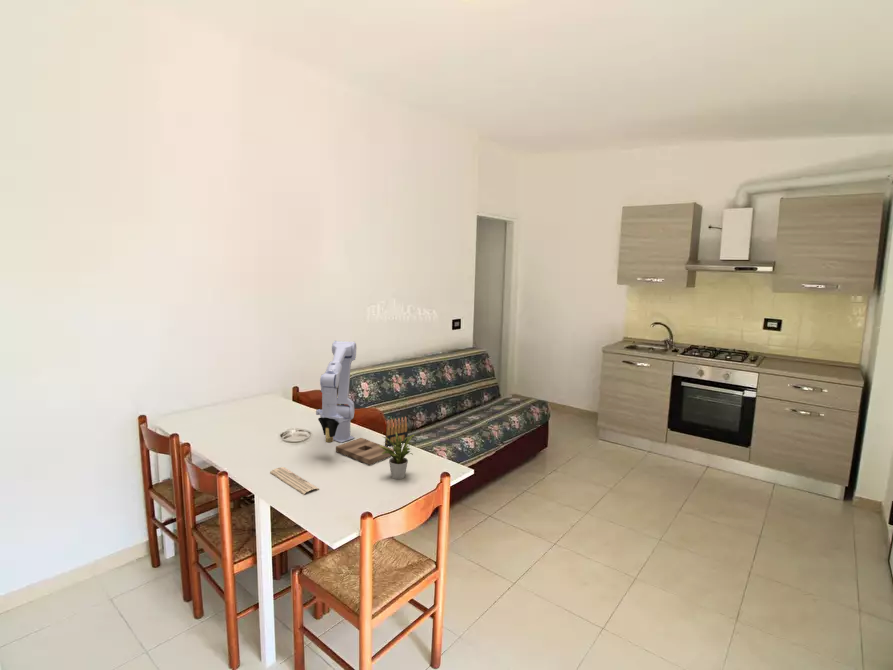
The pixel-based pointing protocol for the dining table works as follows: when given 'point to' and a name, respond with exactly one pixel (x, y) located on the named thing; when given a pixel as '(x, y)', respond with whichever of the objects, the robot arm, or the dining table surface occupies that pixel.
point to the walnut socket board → (363, 451)
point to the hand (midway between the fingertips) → (329, 435)
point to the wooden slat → (293, 480)
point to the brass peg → (327, 437)
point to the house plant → (398, 457)
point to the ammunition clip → (396, 431)
